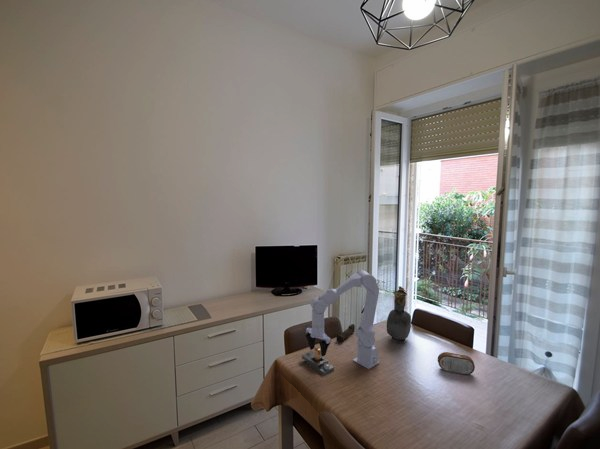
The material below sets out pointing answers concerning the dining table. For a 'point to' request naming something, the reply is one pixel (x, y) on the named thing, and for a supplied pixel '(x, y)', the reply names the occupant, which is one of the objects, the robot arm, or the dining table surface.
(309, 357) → the grey plate with knobs
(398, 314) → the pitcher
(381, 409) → the dining table surface
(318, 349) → the copper pin
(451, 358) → the tin
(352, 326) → the hand tool
